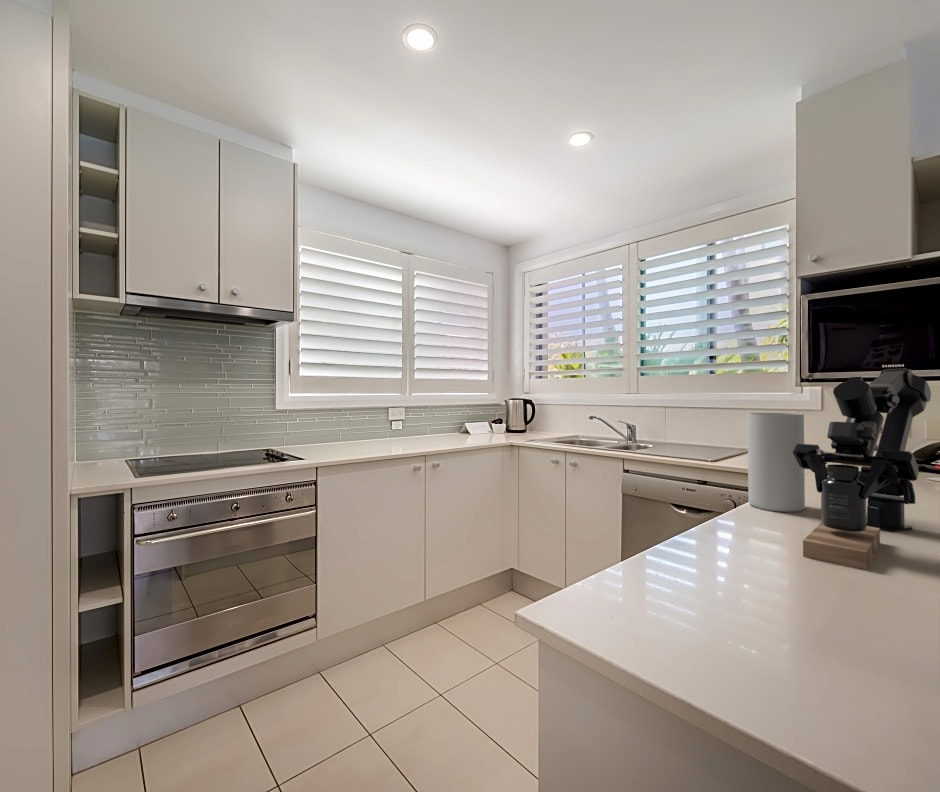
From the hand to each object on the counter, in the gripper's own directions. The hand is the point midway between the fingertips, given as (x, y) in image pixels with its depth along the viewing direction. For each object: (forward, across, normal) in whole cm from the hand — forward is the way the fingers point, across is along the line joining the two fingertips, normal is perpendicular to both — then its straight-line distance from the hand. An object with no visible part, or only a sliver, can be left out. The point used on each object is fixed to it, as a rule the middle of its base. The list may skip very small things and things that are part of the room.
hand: (840, 494), depth 88 cm
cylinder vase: (-11, -23, +27) cm, 37 cm away
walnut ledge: (+7, 0, +8) cm, 11 cm away
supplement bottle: (+4, 0, +6) cm, 7 cm away
